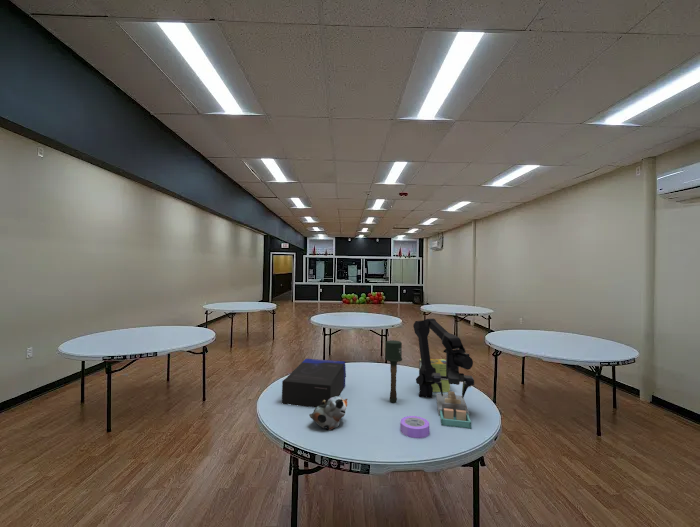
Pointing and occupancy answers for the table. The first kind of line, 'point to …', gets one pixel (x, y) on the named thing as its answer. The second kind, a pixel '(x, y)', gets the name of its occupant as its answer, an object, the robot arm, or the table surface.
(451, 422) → the tray
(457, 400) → the tan stepped block
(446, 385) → the protein box
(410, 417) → the masking tape
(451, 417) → the tile
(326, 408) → the lucky cat figurine
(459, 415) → the tile
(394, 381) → the potato masher grenade
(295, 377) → the headphone box
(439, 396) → the board
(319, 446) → the table surface
